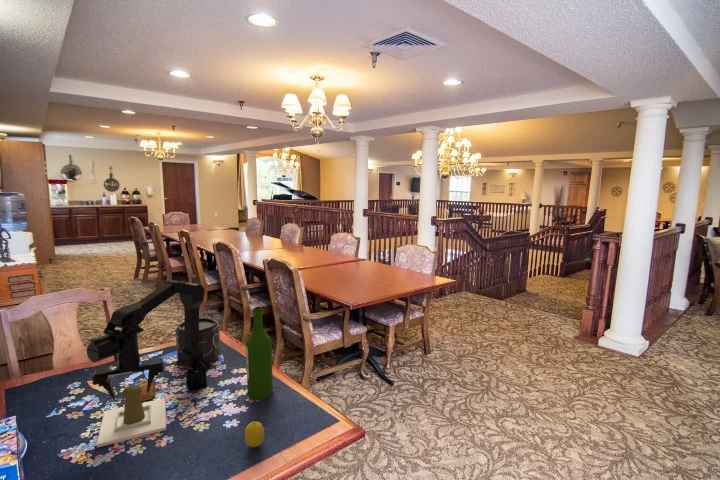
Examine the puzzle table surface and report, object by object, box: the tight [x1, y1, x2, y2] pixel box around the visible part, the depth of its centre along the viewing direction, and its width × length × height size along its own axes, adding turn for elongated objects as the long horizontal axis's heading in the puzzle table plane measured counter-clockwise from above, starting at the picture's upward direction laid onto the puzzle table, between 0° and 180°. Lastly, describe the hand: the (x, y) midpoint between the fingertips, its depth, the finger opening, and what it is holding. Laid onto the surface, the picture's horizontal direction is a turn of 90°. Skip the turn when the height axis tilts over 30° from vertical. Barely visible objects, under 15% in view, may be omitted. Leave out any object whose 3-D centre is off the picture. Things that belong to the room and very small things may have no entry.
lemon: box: [244, 421, 265, 448], centre depth 112 cm, size 6×6×8 cm
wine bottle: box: [245, 306, 274, 401], centre depth 138 cm, size 9×9×32 cm
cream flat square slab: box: [96, 397, 167, 448], centre depth 123 cm, size 18×18×2 cm
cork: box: [122, 384, 145, 425], centre depth 123 cm, size 6×6×11 cm
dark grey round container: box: [174, 317, 222, 364], centre depth 167 cm, size 18×18×16 cm
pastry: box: [137, 380, 157, 402], centre depth 139 cm, size 9×7×4 cm
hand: (131, 395), depth 122 cm, fingers open, 9 cm apart
